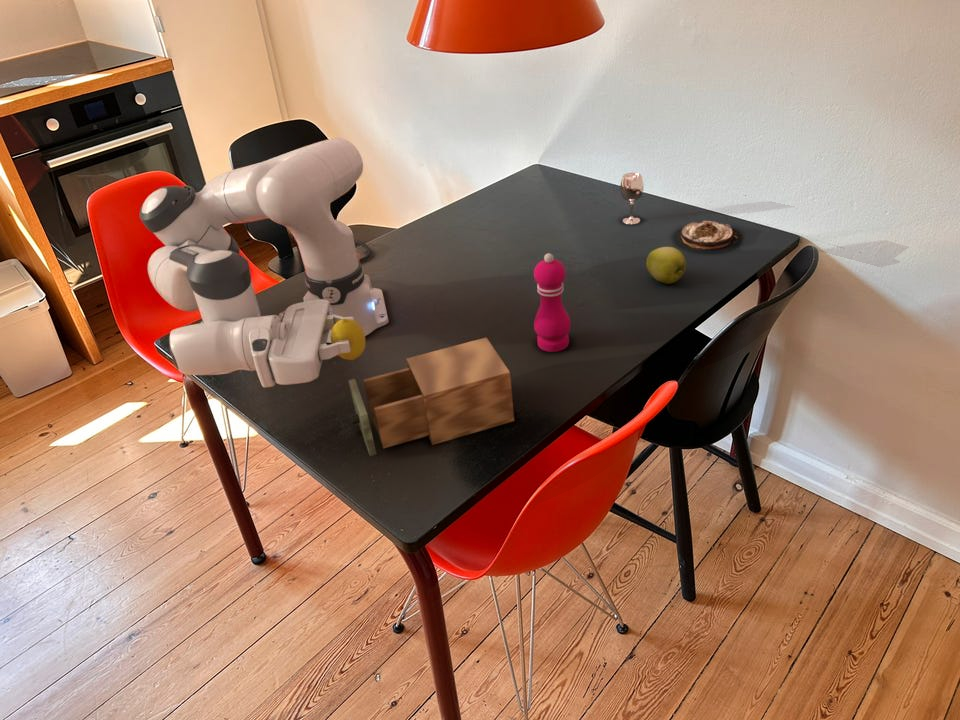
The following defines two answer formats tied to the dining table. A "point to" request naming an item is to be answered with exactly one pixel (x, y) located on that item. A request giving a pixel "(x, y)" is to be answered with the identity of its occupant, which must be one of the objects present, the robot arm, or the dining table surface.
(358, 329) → the lemon
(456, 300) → the dining table surface
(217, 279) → the robot arm
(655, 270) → the apple
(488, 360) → the cabinet
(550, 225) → the dining table surface
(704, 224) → the mottled flat disc
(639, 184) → the wineglass
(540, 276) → the pepper mill
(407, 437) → the drawer
